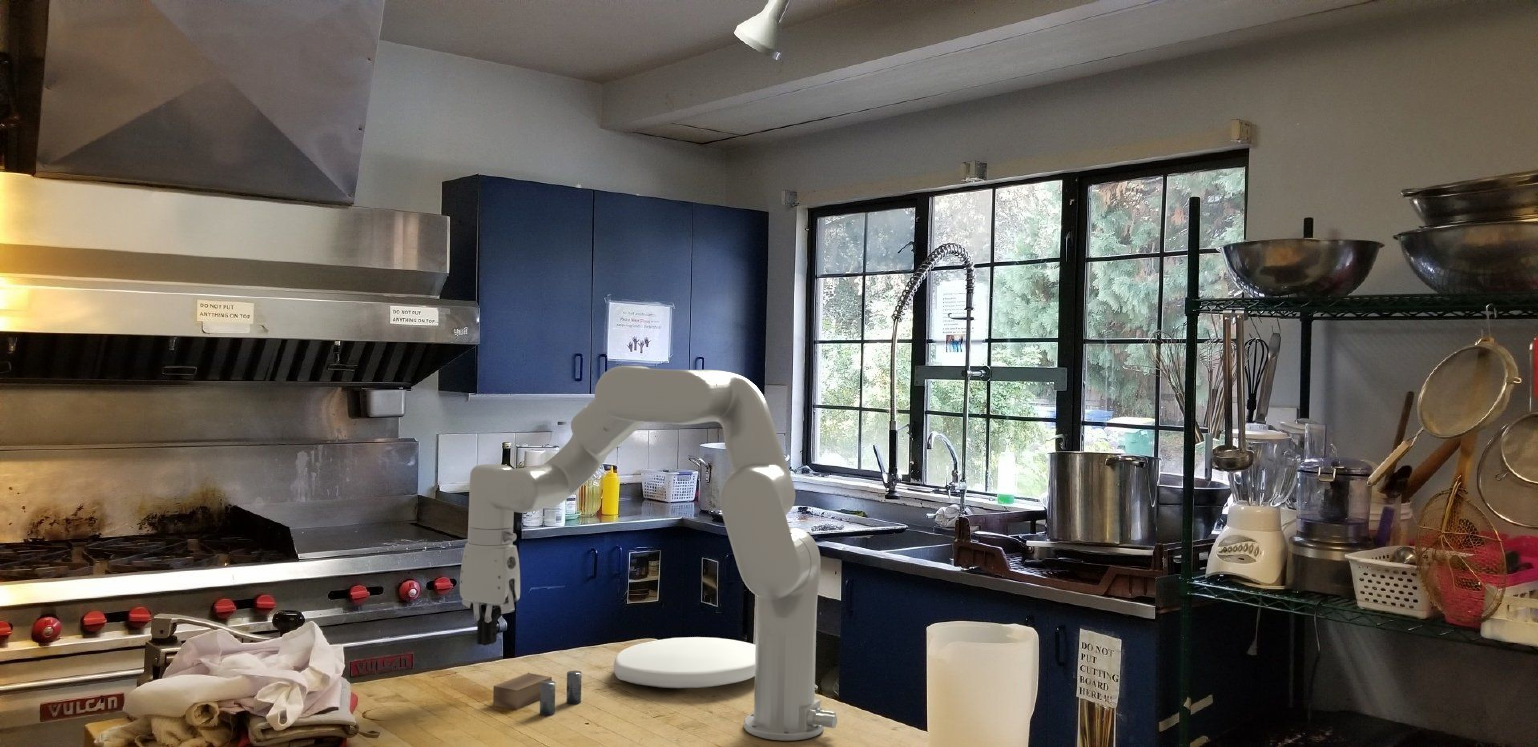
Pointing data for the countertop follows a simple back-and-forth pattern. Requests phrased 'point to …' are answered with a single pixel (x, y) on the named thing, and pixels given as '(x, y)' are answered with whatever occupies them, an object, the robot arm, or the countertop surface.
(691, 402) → the robot arm
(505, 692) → the block
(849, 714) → the countertop surface
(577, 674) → the bench dogs
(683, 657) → the white thick disc
